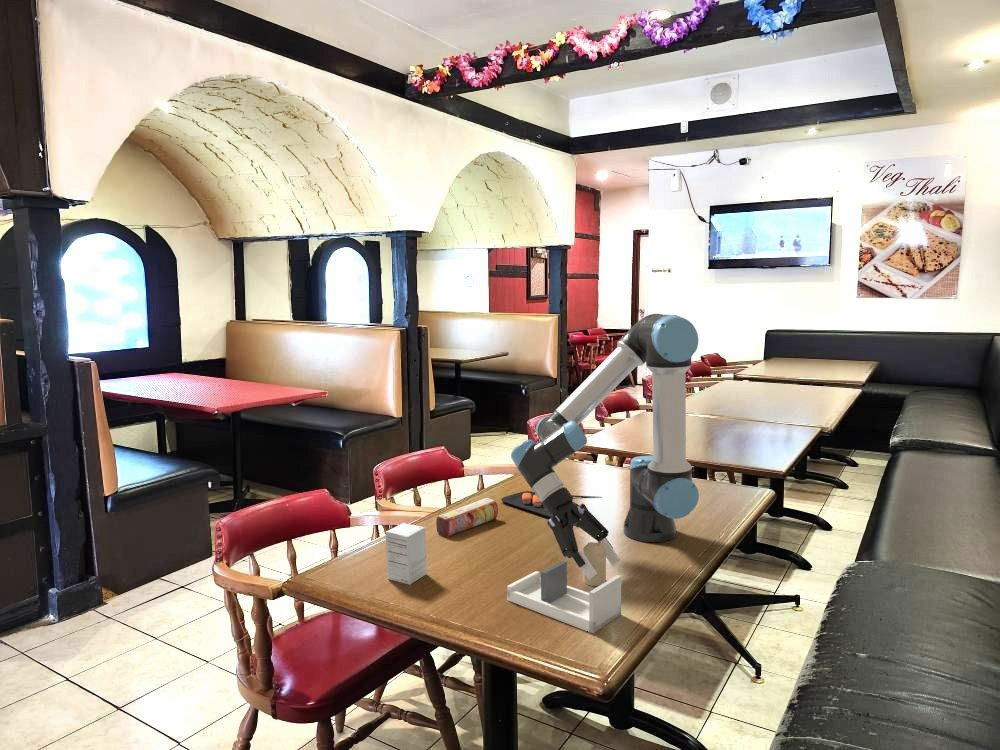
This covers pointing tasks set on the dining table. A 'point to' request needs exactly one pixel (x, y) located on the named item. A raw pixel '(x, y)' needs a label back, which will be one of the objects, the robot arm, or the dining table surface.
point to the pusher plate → (554, 582)
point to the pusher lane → (571, 602)
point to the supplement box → (406, 553)
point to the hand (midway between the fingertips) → (605, 569)
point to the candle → (596, 563)
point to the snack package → (467, 517)
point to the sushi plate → (532, 502)
